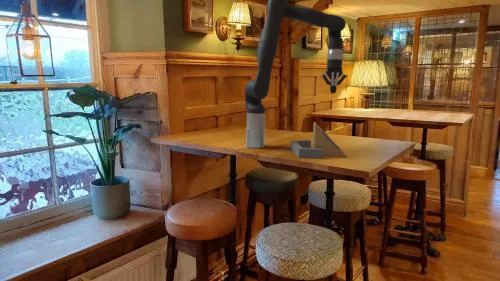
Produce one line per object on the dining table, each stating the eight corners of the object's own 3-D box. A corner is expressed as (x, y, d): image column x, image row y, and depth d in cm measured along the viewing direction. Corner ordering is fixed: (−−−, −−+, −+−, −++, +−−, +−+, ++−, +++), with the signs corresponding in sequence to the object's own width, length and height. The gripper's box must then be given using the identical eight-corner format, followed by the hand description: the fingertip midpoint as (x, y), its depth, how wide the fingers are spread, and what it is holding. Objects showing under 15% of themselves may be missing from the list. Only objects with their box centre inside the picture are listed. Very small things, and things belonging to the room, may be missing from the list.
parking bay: (299, 158, 157) (300, 149, 157) (289, 147, 181) (289, 139, 180) (323, 158, 158) (323, 149, 158) (309, 147, 182) (310, 139, 181)
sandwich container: (348, 158, 161) (350, 124, 158) (313, 156, 162) (315, 124, 160) (345, 153, 169) (347, 122, 167) (312, 152, 171) (313, 121, 168)
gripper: (345, 59, 186) (343, 93, 189) (320, 58, 185) (318, 92, 188) (350, 58, 178) (348, 93, 182) (324, 58, 177) (322, 93, 181)
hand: (332, 93), depth 185 cm, fingers closed
